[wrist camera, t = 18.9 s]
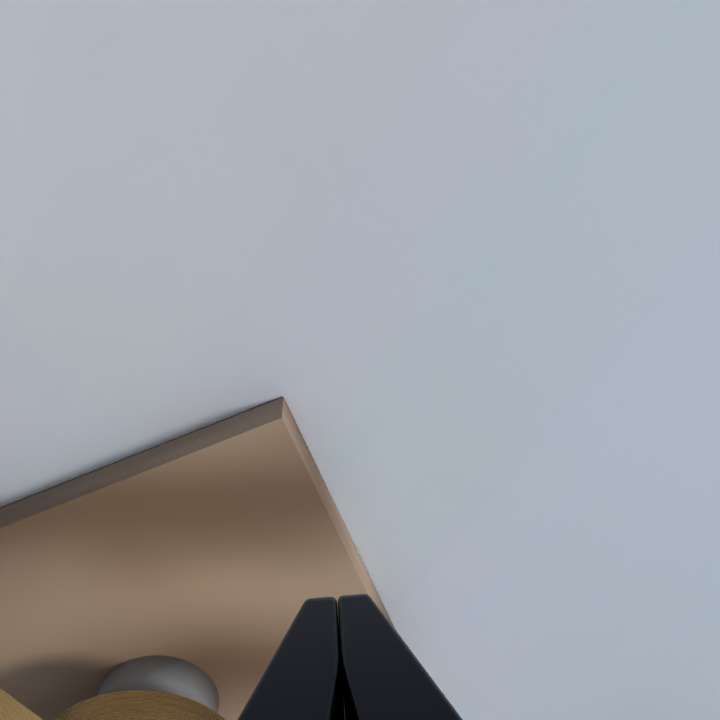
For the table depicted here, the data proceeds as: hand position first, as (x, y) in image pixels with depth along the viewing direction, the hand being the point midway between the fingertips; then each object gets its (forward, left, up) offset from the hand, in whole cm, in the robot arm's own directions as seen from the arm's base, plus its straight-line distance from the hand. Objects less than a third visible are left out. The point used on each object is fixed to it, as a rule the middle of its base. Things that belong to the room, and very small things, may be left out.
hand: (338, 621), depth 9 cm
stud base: (-9, +10, -12) cm, 18 cm away
